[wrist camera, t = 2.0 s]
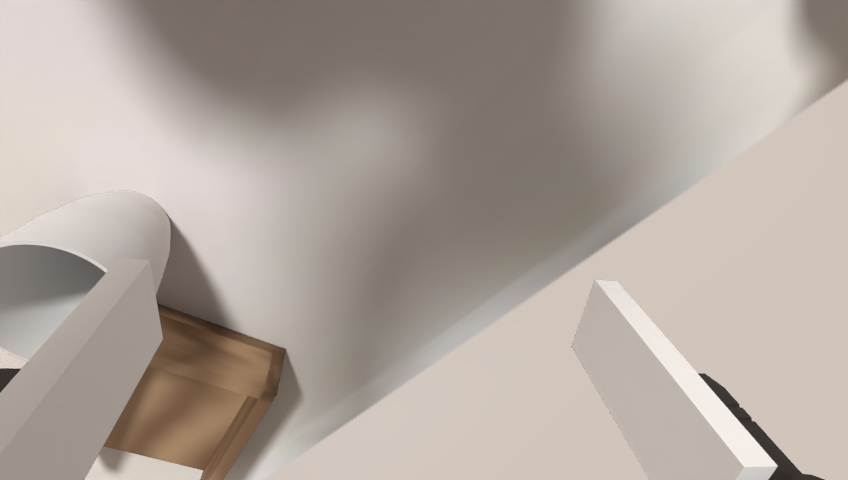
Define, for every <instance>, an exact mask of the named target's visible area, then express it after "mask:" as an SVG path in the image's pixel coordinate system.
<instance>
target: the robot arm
mask: <svg viewBox="0 0 848 480" xmlns="http://www.w3.org/2000/svg"><path fill="white" fill-rule="evenodd" d="M162 340H163V335H162V329H161V324H160V318H159V312H158V306H157V300H156V294H155V288H154V282H153V276H152V270H151V265H150V260H142V259H118V260H117V261H116V262H115V264H114V265H113V266H112V267H111V268H110V269H109V270H108V272H107V273H106V274H105V275H104V276H103V277H102V278H101V279H100V281H99V282H98V283H97V284H96V285H95V286H94V287H93V288H92V290H91V291H90V292H89V293H88V294H87V295H86V296H85V298H84V299H83V300H82V301H81V302H80V303H79V304H78V305H77V307H76V308H75V309H74V310H73V311H72V312H71V313H70V314H69V316H68V317H67V318H66V319H65V320H64V321H63V322H62V324H61V325H60V326H59V327H58V328H57V329H56V330H55V331H54V333H53V334H52V335H51V336H50V337H49V338H48V339H47V340H46V342H45V343H44V344H43V345H42V346H41V347H40V348H39V350H38V351H37V352H36V353H35V354H34V355H33V356H32V357H31V359H30V360H29V361H28V362H27V363H26V364H25V365H24V366H23V368H22V369H0V480H84V479H85V478H86V476H87V474H88V472H89V470H90V469H91V467H92V465H93V463H94V461H95V460H96V458H97V456H98V454H99V452H100V451H101V449H102V447H103V445H104V444H105V442H106V440H107V438H108V436H109V435H110V433H111V431H112V429H113V427H114V426H115V424H116V422H117V420H118V419H119V417H120V415H121V413H122V411H123V410H124V408H125V406H126V404H127V402H128V401H129V399H130V397H131V395H132V393H133V392H134V390H135V388H136V386H137V385H138V383H139V381H140V379H141V377H142V376H143V374H144V372H145V370H146V368H147V367H148V365H149V363H150V361H151V359H152V358H153V356H154V354H155V352H156V351H157V349H158V347H159V345H160V343H161V342H162ZM571 347H572V348H573V350H574V352H575V353H576V355H577V357H578V359H579V360H580V362H581V364H582V366H583V367H584V369H585V370H586V372H587V374H588V376H589V378H590V379H591V381H592V383H593V384H594V386H595V388H596V390H597V391H598V393H599V395H600V396H601V398H602V400H603V402H604V403H605V405H606V407H607V408H608V410H609V412H610V413H611V415H612V417H613V419H614V420H615V422H616V424H617V425H618V427H619V429H620V431H621V432H622V434H623V436H624V437H625V439H626V441H627V443H628V444H629V446H630V448H631V449H632V451H633V453H634V455H635V456H636V458H637V460H638V461H639V463H640V465H641V467H642V468H643V470H644V472H645V473H646V475H647V477H648V479H649V480H824V479H821V478H819V477H816V476H813V475H807V474H802V473H801V472H800V471H799V470H798V469H797V468H796V467H795V466H794V464H793V463H792V462H791V461H790V460H789V459H788V458H787V457H786V456H785V455H784V453H783V452H782V451H781V450H780V449H779V448H778V447H777V446H776V445H775V444H774V442H773V441H772V440H771V439H770V438H769V437H768V436H767V435H766V433H765V432H764V431H763V430H762V429H761V428H760V427H759V426H758V425H757V423H756V422H753V421H752V420H751V417H750V416H749V415H748V414H747V413H746V411H745V410H744V409H743V408H740V407H739V404H738V403H737V401H736V400H735V399H734V398H733V397H732V396H731V395H730V394H729V393H728V391H727V390H726V389H725V388H724V387H722V386H721V385H720V384H718V383H717V382H715V381H714V380H713V379H711V378H710V377H709V376H707V375H706V374H698V373H697V372H696V371H695V370H694V369H693V368H692V367H691V365H690V364H689V363H688V362H687V361H686V360H685V358H684V357H683V356H682V355H681V354H680V353H679V352H678V350H677V349H676V348H675V347H674V346H673V345H672V344H671V342H670V341H669V340H668V339H667V338H666V337H665V335H664V334H663V333H662V332H661V331H660V330H659V329H658V328H657V326H656V325H655V324H654V323H653V322H652V321H651V320H650V318H649V317H648V316H647V315H646V314H645V312H644V311H643V310H642V309H641V308H640V307H639V306H638V304H637V303H636V302H635V301H634V300H633V299H632V297H631V296H630V295H629V294H628V293H627V292H626V291H625V290H624V288H623V287H622V286H621V285H620V284H619V283H618V281H612V280H611V281H610V280H595V281H594V284H593V287H592V289H591V293H590V295H589V298H588V301H587V304H586V306H585V309H584V312H583V315H582V318H581V321H580V323H579V326H578V329H577V332H576V335H575V338H574V340H573V343H572V346H571Z"/></svg>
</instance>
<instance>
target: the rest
mask: <svg viewBox="0 0 848 480" xmlns="http://www.w3.org/2000/svg"><path fill="white" fill-rule="evenodd" d="M157 306H158V312H159V318H160V324H161V329H162V335H163V340H162V342H161V343H160V345H159V347H158V349H157V351H156V352H155V354H154V356H153V358H152V359H151V361H150V363H149V365H148V367H147V368H146V370H145V372H144V374H143V376H142V377H141V379H140V381H139V383H138V385H137V386H136V388H135V390H134V392H133V393H132V395H131V397H130V399H129V401H128V402H127V404H126V406H125V408H124V410H123V411H122V413H121V415H120V417H119V419H118V420H117V422H116V424H115V426H114V427H113V429H112V431H111V433H110V435H109V436H108V438H107V440H106V442H105V444H104V445H103V446H106V447H110V448H114V449H118V450H122V451H126V452H130V453H135V454H139V455H143V456H147V457H151V458H155V459H159V460H163V461H167V462H172V463H176V464H180V465H184V466H188V467H192V468H196V469H200V470H203V473H202V476H201V479H200V480H223V479H224V478H225V476H226V474H227V473H228V471H229V470H230V468H231V466H232V465H233V463H234V462H235V460H236V458H237V457H238V455H239V454H240V452H241V450H242V449H243V447H244V446H245V444H246V442H247V441H248V439H249V438H250V436H251V434H252V433H253V431H254V430H255V428H256V426H257V425H258V423H259V422H260V420H261V418H262V417H263V415H264V414H265V412H266V410H267V409H268V407H269V405H270V404H271V402H272V401H273V399H274V397H275V396H276V394H277V389H278V384H279V380H280V375H281V370H282V365H283V360H284V355H285V350H286V349H283V348H281V347H278V346H275V345H272V344H269V343H266V342H264V341H261V340H258V339H255V338H252V337H249V336H247V335H244V334H241V333H238V332H235V331H232V330H230V329H227V328H224V327H221V326H218V325H215V324H213V323H210V322H207V321H204V320H201V319H198V318H196V317H193V316H190V315H187V314H184V313H181V312H179V311H176V310H173V309H170V308H167V307H164V306H161V305H159V304H157Z"/></svg>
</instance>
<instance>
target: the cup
mask: <svg viewBox="0 0 848 480" xmlns="http://www.w3.org/2000/svg"><path fill="white" fill-rule="evenodd" d="M170 238H171V225H170V221H169V218H168V216H167V214H166V212H165V211H164V210H163V208H162V207H161V206H160V205H159V204H158V203H157V202H155V201H154V200H153V199H151V198H149V197H148V196H146V195H143V194H141V193H138V192H134V191H129V190H117V191H112V192H106V193H101V194H95V195H90V196H86V197H83V198H80V199H78V200H76V201H73V202H71V203H68V204H66V205H63V206H61V207H59V208H56V209H54V210H51V211H49V212H47V213H44V214H42V215H40V216H38V217H36V218H34V219H32V220H31V221H29V222H27V223H26V224H24V225H22V226H21V227H19V228H17V229H16V230H14V231H12V232H11V233H9V234H7V235H6V236H4V237H2V238H1V239H0V350H2V351H4V352H5V353H7V354H9V355H11V356H14V357H16V358H18V359H21V360H24V361H27V362H28V361H29V360H30V359H31V357H32V356H33V355H34V354H35V353H36V352H37V351H38V350H39V348H40V347H41V346H42V345H43V344H44V343H45V342H46V340H47V339H48V338H49V337H50V336H51V335H52V334H53V333H54V331H55V330H56V329H57V328H58V327H59V326H60V325H61V324H62V322H63V321H64V320H65V319H66V318H67V317H68V316H69V314H70V313H71V312H72V311H73V310H74V309H75V308H76V307H77V305H78V304H79V303H80V302H81V301H82V300H83V299H84V298H85V296H86V295H87V294H88V293H89V292H90V291H91V290H92V288H93V287H94V286H95V285H96V284H97V283H98V282H99V281H100V279H101V278H102V277H103V276H104V275H105V274H106V273H107V272H108V270H109V269H110V268H111V267H112V266H113V265H114V264H115V262H116V261H117V260H118V259H142V260H150V265H151V270H152V276H153V282H154V288H155V294H157V291H158V289H159V286H160V283H161V279H162V276H163V273H164V270H165V267H166V264H167V261H168V258H169V254H170Z"/></svg>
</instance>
